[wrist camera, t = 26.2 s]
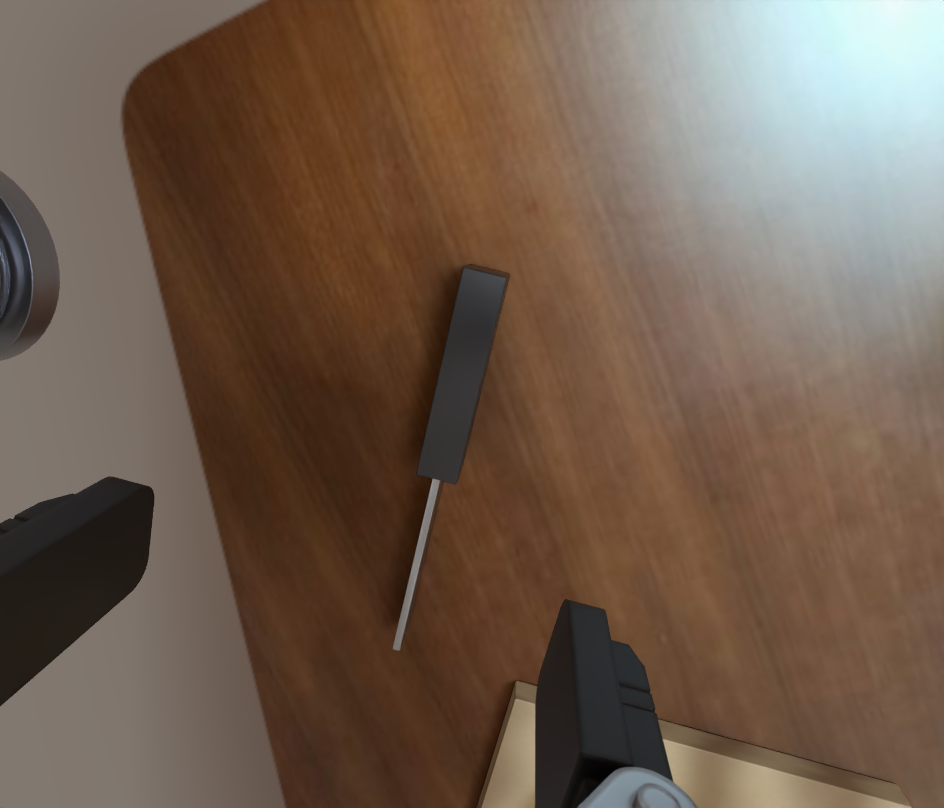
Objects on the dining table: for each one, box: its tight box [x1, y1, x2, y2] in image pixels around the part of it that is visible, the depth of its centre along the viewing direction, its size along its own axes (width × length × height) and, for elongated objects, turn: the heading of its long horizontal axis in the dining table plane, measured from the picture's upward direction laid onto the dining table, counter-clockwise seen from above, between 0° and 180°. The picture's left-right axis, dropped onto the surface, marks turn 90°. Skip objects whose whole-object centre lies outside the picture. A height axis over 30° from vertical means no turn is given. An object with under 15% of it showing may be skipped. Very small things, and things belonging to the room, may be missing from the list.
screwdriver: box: [393, 264, 510, 651], centre depth 31 cm, size 20×2×3 cm, turn 167°
